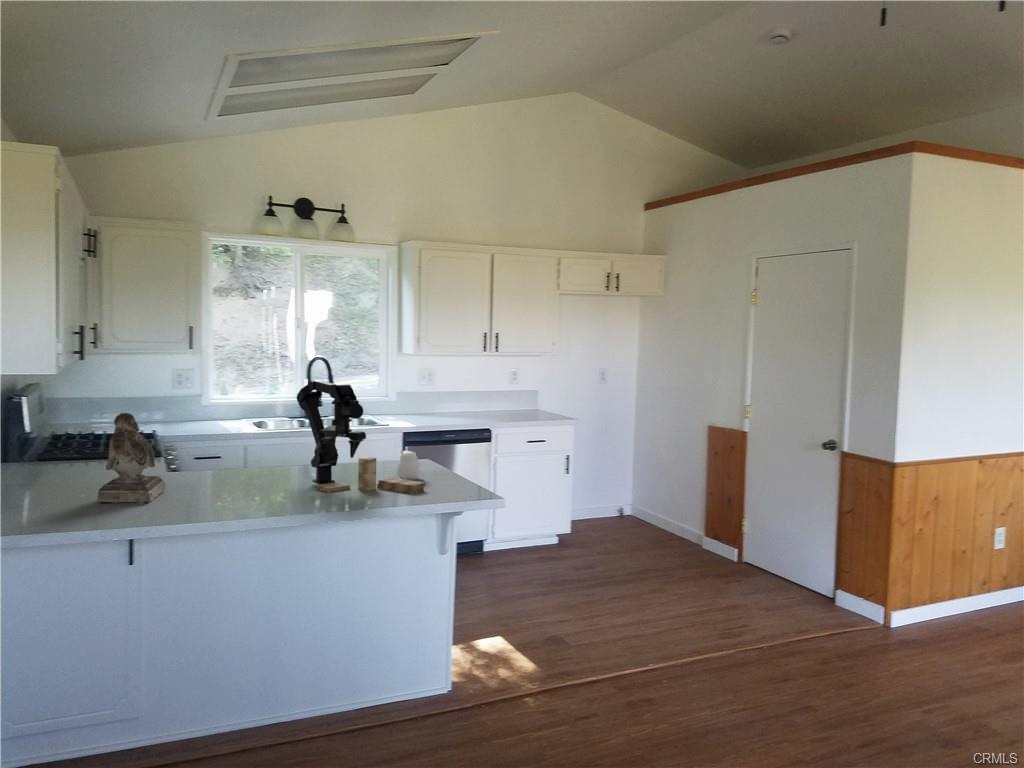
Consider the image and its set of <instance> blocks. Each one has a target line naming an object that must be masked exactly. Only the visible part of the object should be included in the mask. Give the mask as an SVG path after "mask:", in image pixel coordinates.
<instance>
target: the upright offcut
mask: <svg viewBox="0 0 1024 768" xmlns="http://www.w3.org/2000/svg"><path fill="white" fill-rule="evenodd" d="M357 468H358V474H357V475H358V477H357V478H358V479H357V487H358V490H361V489H362V490H361V491H367V490H370V491H373V490H376V489H377V457H371V456H362V457H359V458H358V467H357ZM372 489H373V490H372Z"/></svg>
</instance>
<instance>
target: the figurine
mask: <svg viewBox="0 0 1024 768" xmlns="http://www.w3.org/2000/svg"><path fill="white" fill-rule="evenodd" d="M396 466H397V467H396V476H397V477H398V479H405V480H411V481H415V480H416V479H418V478H419V477H420V476H421V474H422V470H421V469H420V467H421V466H422V462H420V461H419V460H418V456H417V453H416V451H412V450H411V451H410V450H403V451H402V450H401V451H400V456H399V459H398V463H397V465H396Z"/></svg>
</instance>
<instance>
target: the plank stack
mask: <svg viewBox="0 0 1024 768" xmlns="http://www.w3.org/2000/svg"><path fill="white" fill-rule="evenodd" d="M377 481H378V483H376V489H378V488H379V489H380V490H384V489H385V491H390V490H392V491H391V492H396V491H399V492H398V493H403V492H406V493H405V494H409V493H415V494H417V493H416V492H418V493H420V492H419V491H421V492H423V491H422V490H424V489H425V488H426V482H423V481H416V480H405V479H401V478H399V477H398V478H397V477H391V476H390V477H386V478H382V479H378V480H377Z"/></svg>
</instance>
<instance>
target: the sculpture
mask: <svg viewBox="0 0 1024 768" xmlns="http://www.w3.org/2000/svg"><path fill="white" fill-rule="evenodd" d="M113 424H114V426H115V428H114V431H113V434H112V435H111V437H110V439H109V443H108V444H109V446H108V457H107V458H108V459H107V462H106V465H105V466H106V467H105V469H106V470H107V471H110V470H113V471H114V472H116V473H117V474H118V475H119V476H118V477H115V478H113V479H111V480H110V481H108V482H106V483H105V484H104V485H102V487H101V488H100V489H98V491H97V492H98V493H97V501H98V503H100V502H148V503H151V502H152V501H154V500H155V499H156V498H157V497H158V496H157V495H159V494H160V493H161V492H162V491H164V492H165V489H166V483H165V481H164V479H163V478H161V476H159V475H144V474H142V473H143V472H144V470H145V469H147V468H149V467H150V468H154V467H156V464H155V463H156V460H155V459H156V458H155V452H154V448H153V446H154V445H155V440H154V439H153V438H149V439H147V438H143V436H142V435H141V434H140V433H139V431H140V427H139V425H138V422H136V418H135V417H134V415H133V414H132V413H129V412H121V413H120V414H118V415H116V416H115V418H114V420H113ZM161 494H162V493H161ZM161 494H160V495H161ZM160 495H159V496H160ZM156 496H157V497H156ZM155 497H156V498H155ZM154 498H155V499H154ZM153 499H154V500H153ZM151 500H152V501H151ZM150 501H151V502H150Z"/></svg>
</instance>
